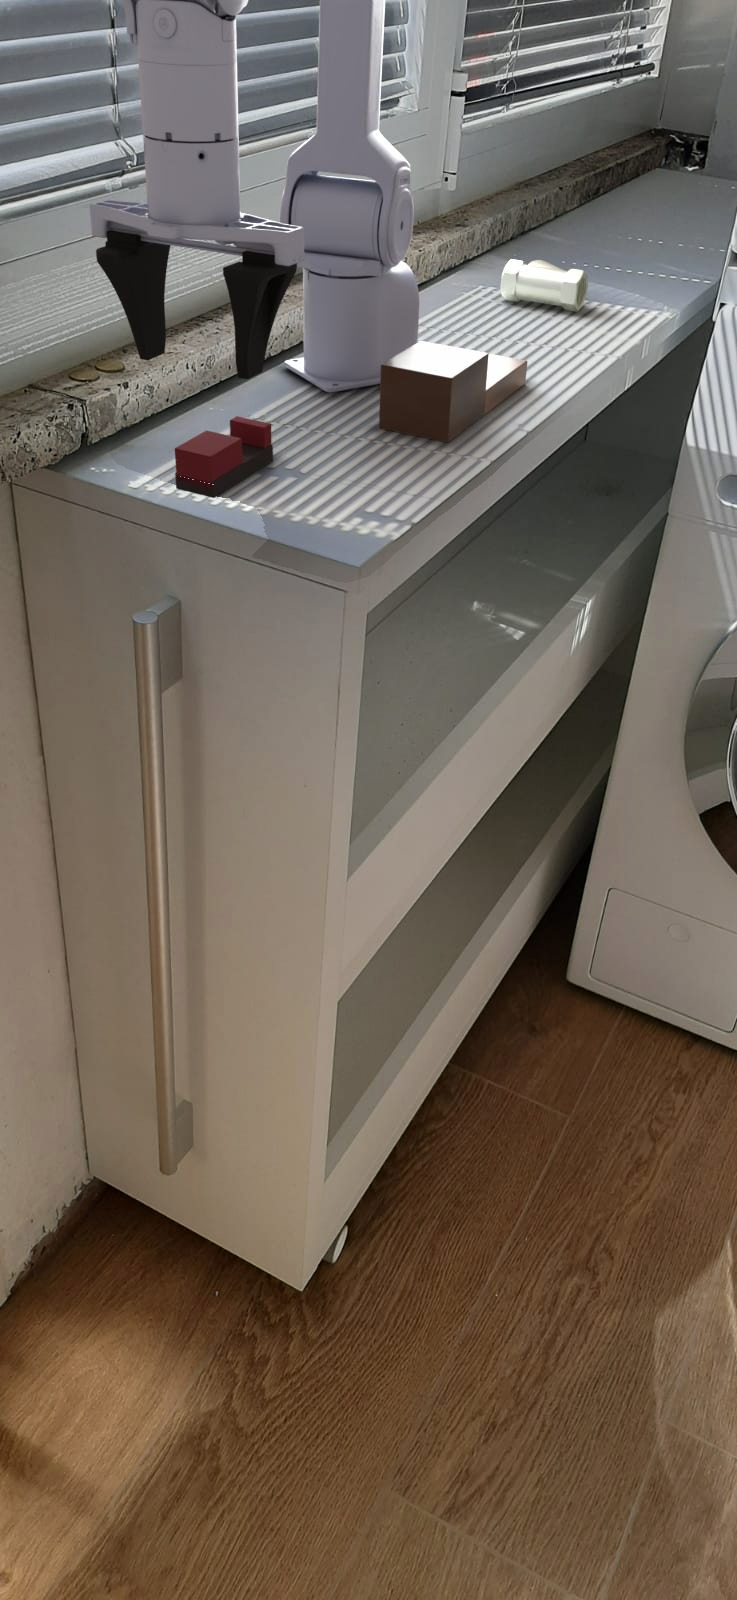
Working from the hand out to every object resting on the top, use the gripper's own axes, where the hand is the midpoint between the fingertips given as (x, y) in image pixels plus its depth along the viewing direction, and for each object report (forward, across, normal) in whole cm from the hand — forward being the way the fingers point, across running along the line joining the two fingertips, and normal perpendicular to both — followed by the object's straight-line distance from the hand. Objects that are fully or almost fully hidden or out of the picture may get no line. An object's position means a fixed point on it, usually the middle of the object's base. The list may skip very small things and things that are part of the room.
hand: (200, 365), depth 84 cm
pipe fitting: (+7, +5, +58) cm, 59 cm away
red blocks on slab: (+9, 0, +3) cm, 9 cm away
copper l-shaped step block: (+8, +9, +25) cm, 28 cm away
